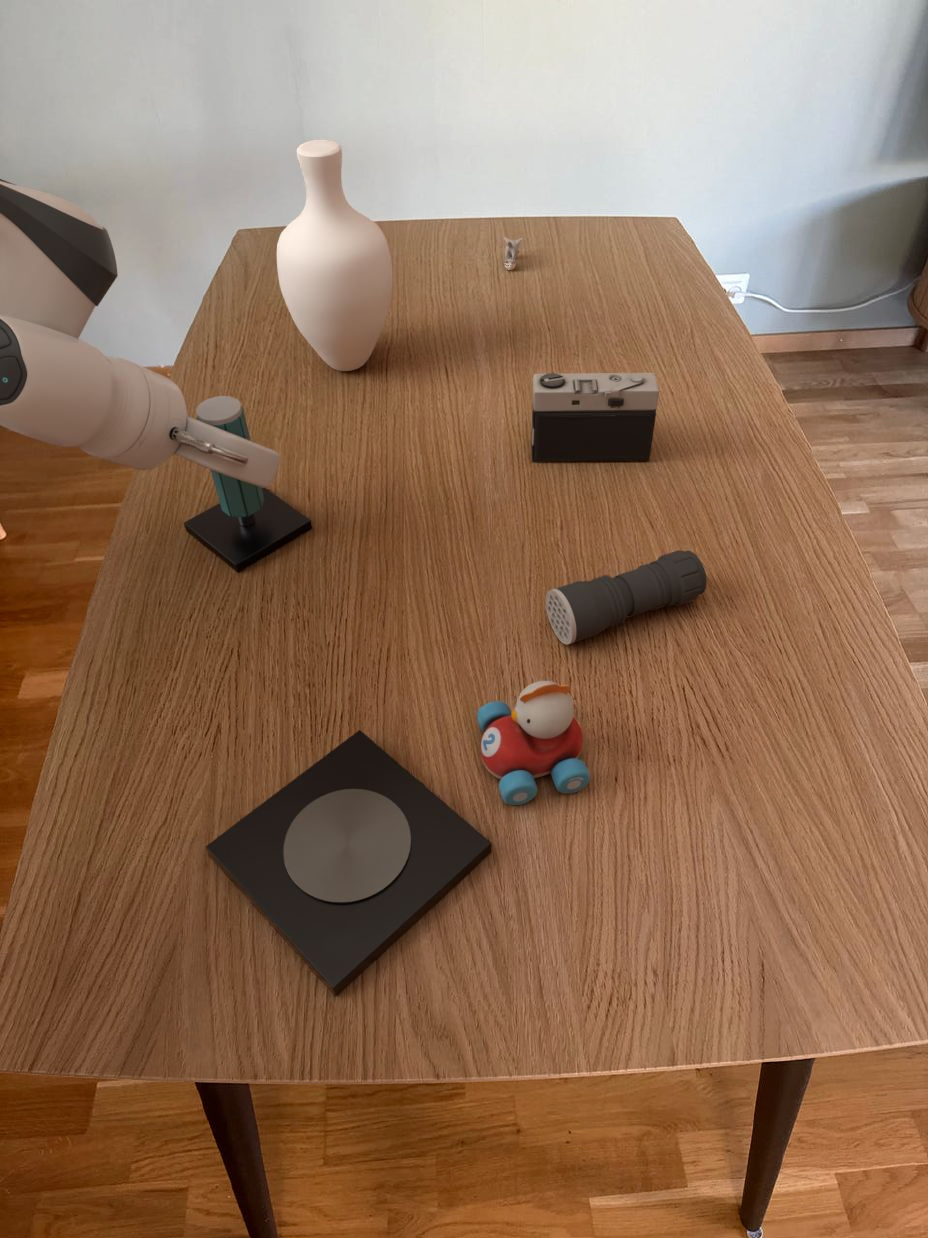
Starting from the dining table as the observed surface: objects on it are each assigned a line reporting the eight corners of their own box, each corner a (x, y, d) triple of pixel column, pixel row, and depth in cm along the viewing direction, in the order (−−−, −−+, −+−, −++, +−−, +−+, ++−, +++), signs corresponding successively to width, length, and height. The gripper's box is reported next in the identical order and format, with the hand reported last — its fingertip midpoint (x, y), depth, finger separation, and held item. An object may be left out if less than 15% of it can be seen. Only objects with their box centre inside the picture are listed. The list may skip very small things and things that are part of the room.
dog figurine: (521, 277, 147) (524, 240, 146) (518, 263, 139) (520, 225, 138) (501, 276, 147) (504, 240, 147) (497, 262, 139) (499, 224, 139)
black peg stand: (238, 573, 96) (223, 520, 91) (185, 530, 101) (169, 478, 96) (312, 528, 101) (302, 475, 96) (259, 490, 106) (247, 438, 101)
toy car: (469, 726, 81) (466, 651, 74) (563, 706, 82) (569, 630, 75) (495, 812, 75) (495, 739, 68) (597, 789, 76) (607, 715, 69)
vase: (359, 403, 118) (330, 177, 98) (273, 375, 124) (229, 156, 104) (420, 353, 126) (405, 136, 106) (337, 329, 132) (308, 117, 112)
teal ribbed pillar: (237, 522, 96) (212, 425, 87) (214, 504, 98) (187, 408, 90) (271, 503, 98) (249, 407, 90) (247, 486, 100) (224, 390, 92)
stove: (335, 997, 65) (332, 987, 63) (209, 856, 73) (203, 844, 72) (492, 852, 72) (491, 841, 71) (361, 739, 81) (359, 727, 79)
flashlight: (677, 573, 94) (684, 533, 90) (707, 607, 91) (716, 567, 87) (544, 618, 90) (546, 579, 86) (570, 655, 87) (573, 616, 83)
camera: (643, 424, 113) (652, 350, 106) (650, 463, 107) (661, 389, 100) (530, 424, 114) (532, 351, 107) (531, 464, 108) (533, 390, 101)
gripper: (233, 417, 77) (323, 455, 90) (73, 354, 85) (176, 397, 98) (207, 487, 78) (300, 515, 90) (51, 418, 86) (156, 452, 99)
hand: (234, 453), depth 94 cm, fingers closed on teal ribbed pillar, 4 cm apart
